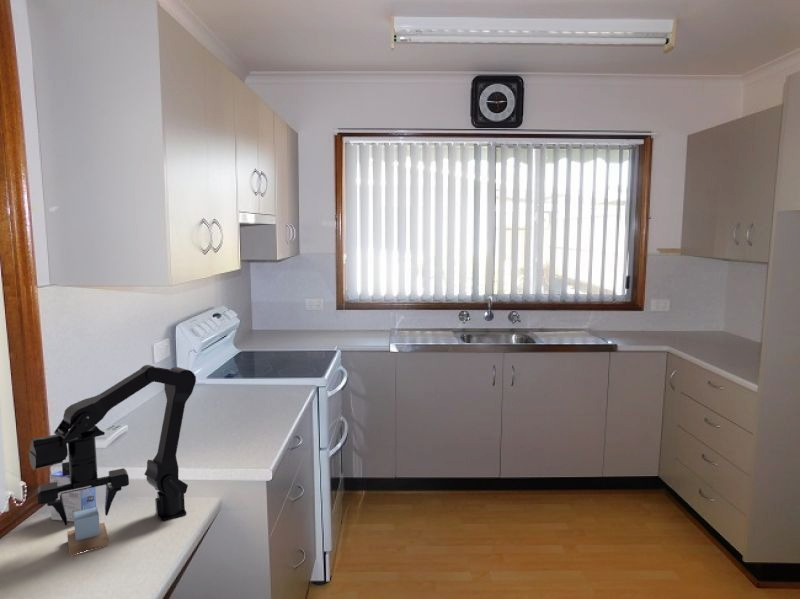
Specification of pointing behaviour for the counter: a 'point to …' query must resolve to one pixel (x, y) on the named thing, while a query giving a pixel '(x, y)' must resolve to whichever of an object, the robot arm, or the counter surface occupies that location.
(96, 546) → the walnut block
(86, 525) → the slate cube
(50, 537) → the counter surface
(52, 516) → the ink cartridge box
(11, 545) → the counter surface
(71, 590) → the counter surface
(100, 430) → the robot arm
